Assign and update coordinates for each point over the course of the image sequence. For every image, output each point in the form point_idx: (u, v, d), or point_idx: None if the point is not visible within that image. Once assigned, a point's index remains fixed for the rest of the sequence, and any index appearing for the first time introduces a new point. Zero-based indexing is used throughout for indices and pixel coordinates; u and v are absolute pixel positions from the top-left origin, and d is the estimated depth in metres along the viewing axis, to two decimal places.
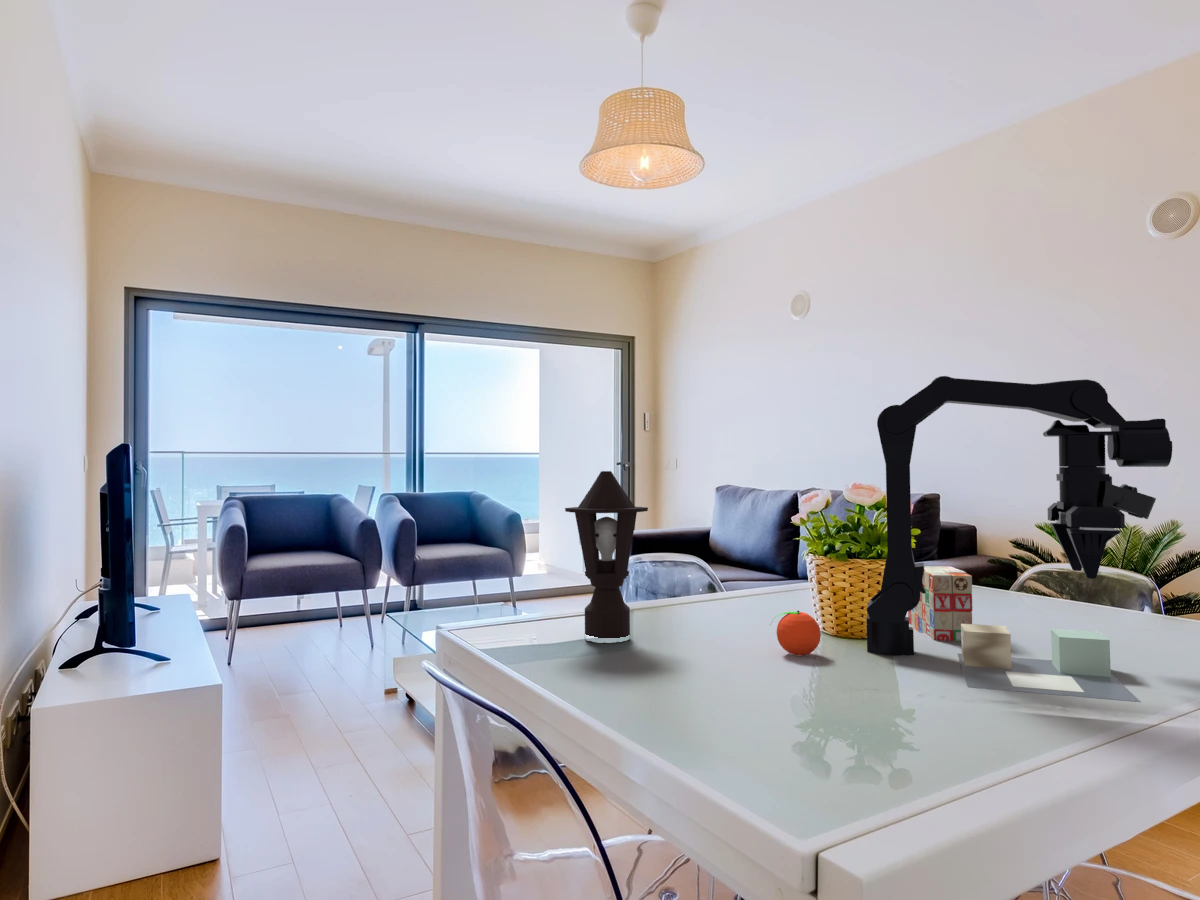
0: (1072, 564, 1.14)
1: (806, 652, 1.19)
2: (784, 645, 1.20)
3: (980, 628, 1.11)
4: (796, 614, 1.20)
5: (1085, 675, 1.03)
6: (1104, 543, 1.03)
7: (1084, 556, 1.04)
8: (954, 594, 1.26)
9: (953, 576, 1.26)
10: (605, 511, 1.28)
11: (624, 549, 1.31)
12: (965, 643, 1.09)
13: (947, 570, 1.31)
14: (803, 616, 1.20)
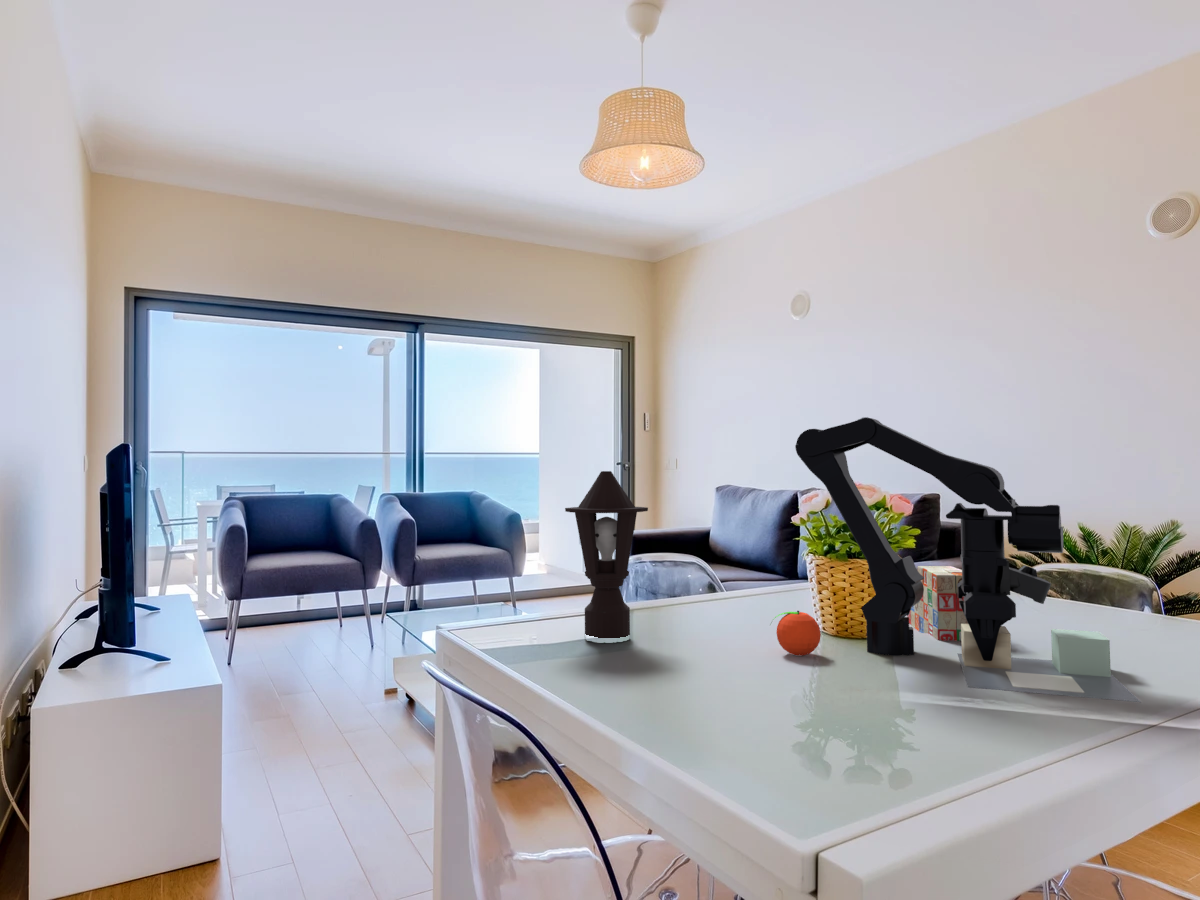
0: None
1: (806, 652, 1.19)
2: (784, 645, 1.20)
3: None
4: (796, 614, 1.20)
5: (1085, 675, 1.03)
6: (997, 628, 1.06)
7: (980, 640, 1.08)
8: None
9: (957, 576, 1.26)
10: (605, 511, 1.28)
11: (624, 549, 1.31)
12: (965, 643, 1.09)
13: (949, 570, 1.32)
14: (803, 616, 1.20)
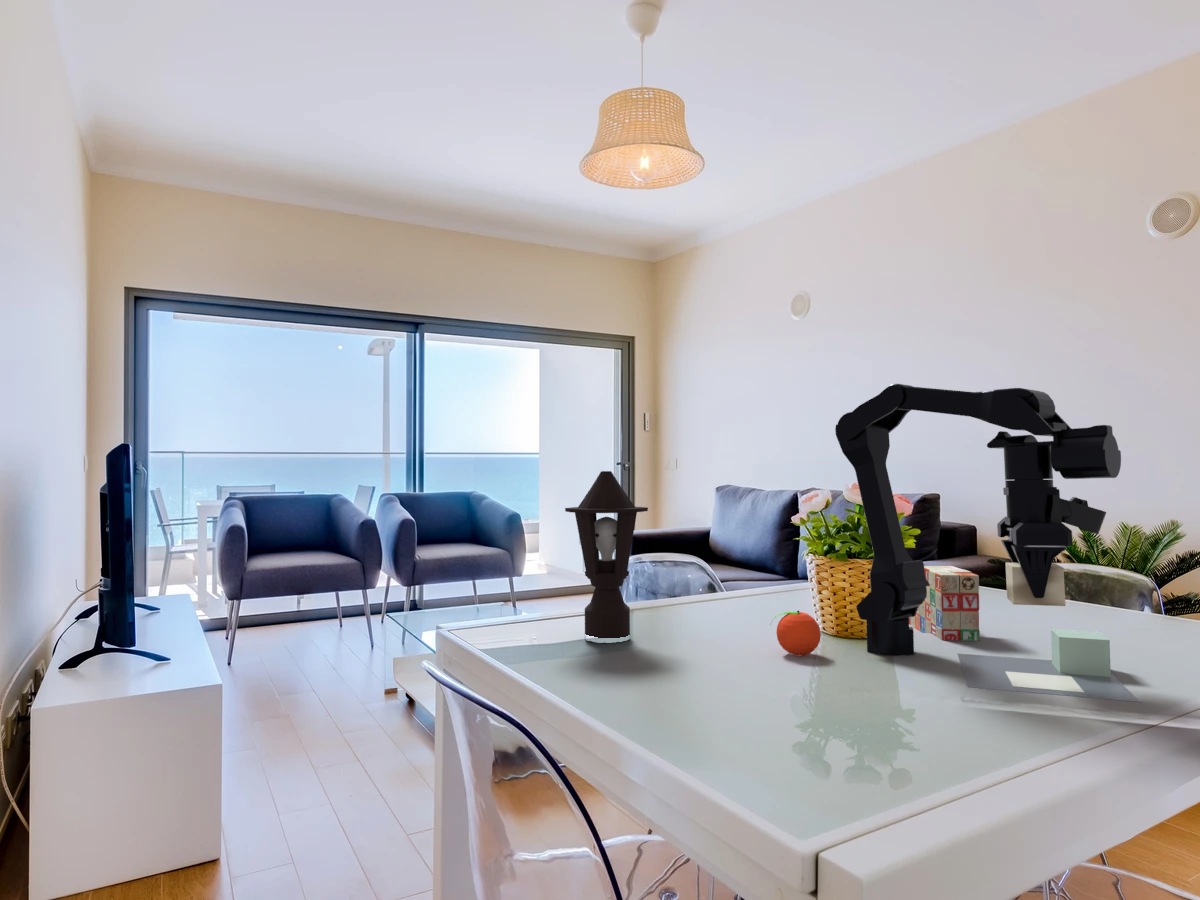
0: None
1: (806, 652, 1.19)
2: (784, 645, 1.20)
3: None
4: (796, 614, 1.20)
5: (1085, 675, 1.03)
6: (1050, 560, 0.97)
7: (1030, 575, 0.99)
8: (961, 593, 1.26)
9: (960, 576, 1.27)
10: (605, 511, 1.28)
11: (624, 549, 1.31)
12: (1013, 580, 1.01)
13: (952, 570, 1.32)
14: (803, 616, 1.20)
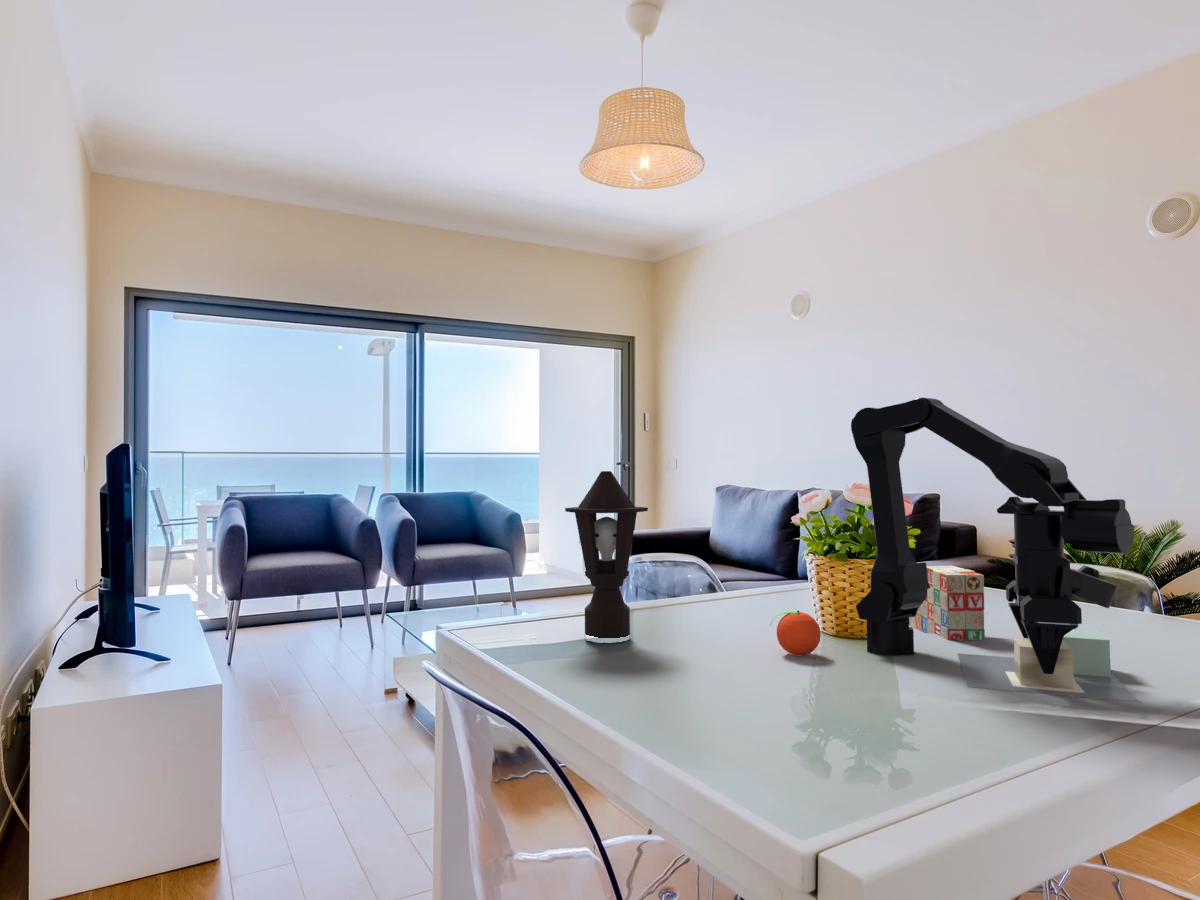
0: None
1: (806, 652, 1.19)
2: (784, 645, 1.20)
3: None
4: (796, 614, 1.20)
5: (1085, 675, 1.03)
6: (1061, 637, 0.94)
7: (1040, 650, 0.96)
8: (967, 593, 1.27)
9: (966, 575, 1.27)
10: (605, 511, 1.28)
11: (624, 549, 1.31)
12: (1021, 660, 0.99)
13: (955, 569, 1.32)
14: (803, 616, 1.20)
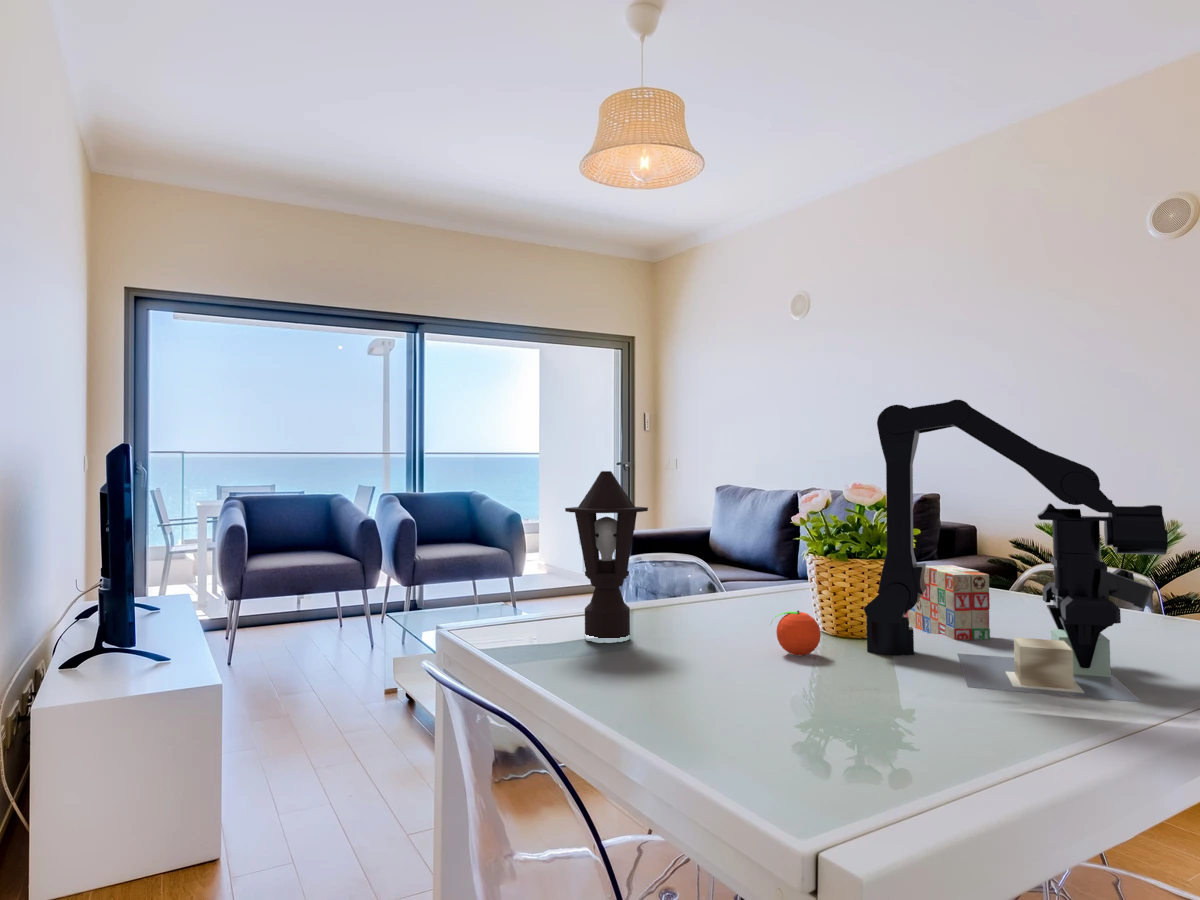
0: None
1: (806, 652, 1.19)
2: (784, 645, 1.20)
3: (1037, 643, 1.01)
4: (796, 614, 1.20)
5: (1085, 675, 1.03)
6: (1097, 634, 1.02)
7: (1077, 646, 1.03)
8: (973, 592, 1.27)
9: (972, 575, 1.27)
10: (605, 511, 1.28)
11: (624, 549, 1.31)
12: (1021, 660, 0.99)
13: (958, 569, 1.32)
14: (803, 616, 1.20)
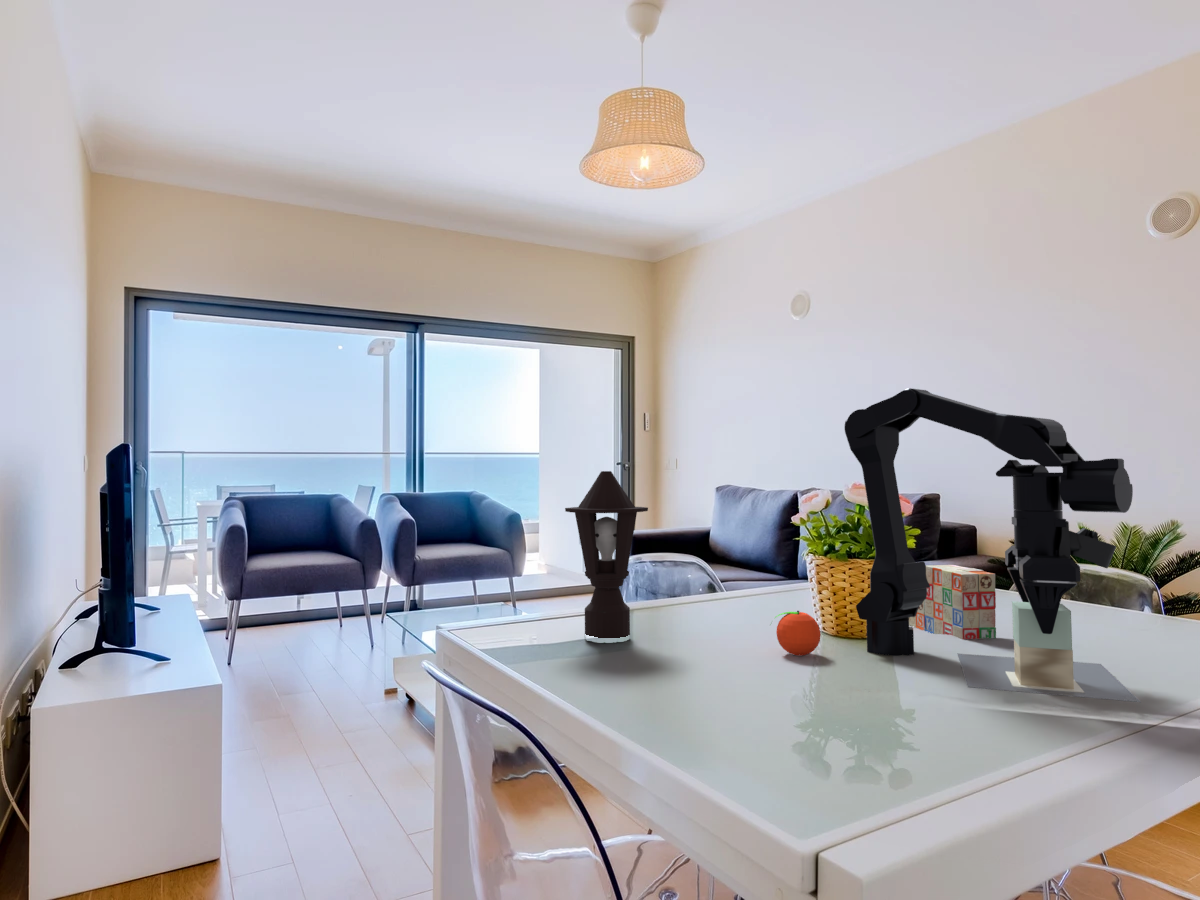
0: None
1: (806, 652, 1.19)
2: (784, 645, 1.20)
3: None
4: (796, 614, 1.20)
5: (1085, 675, 1.03)
6: (1059, 596, 0.94)
7: (1039, 610, 0.96)
8: (980, 592, 1.28)
9: (979, 574, 1.28)
10: (605, 511, 1.28)
11: (624, 549, 1.31)
12: (1021, 660, 0.99)
13: (963, 569, 1.33)
14: (803, 616, 1.20)
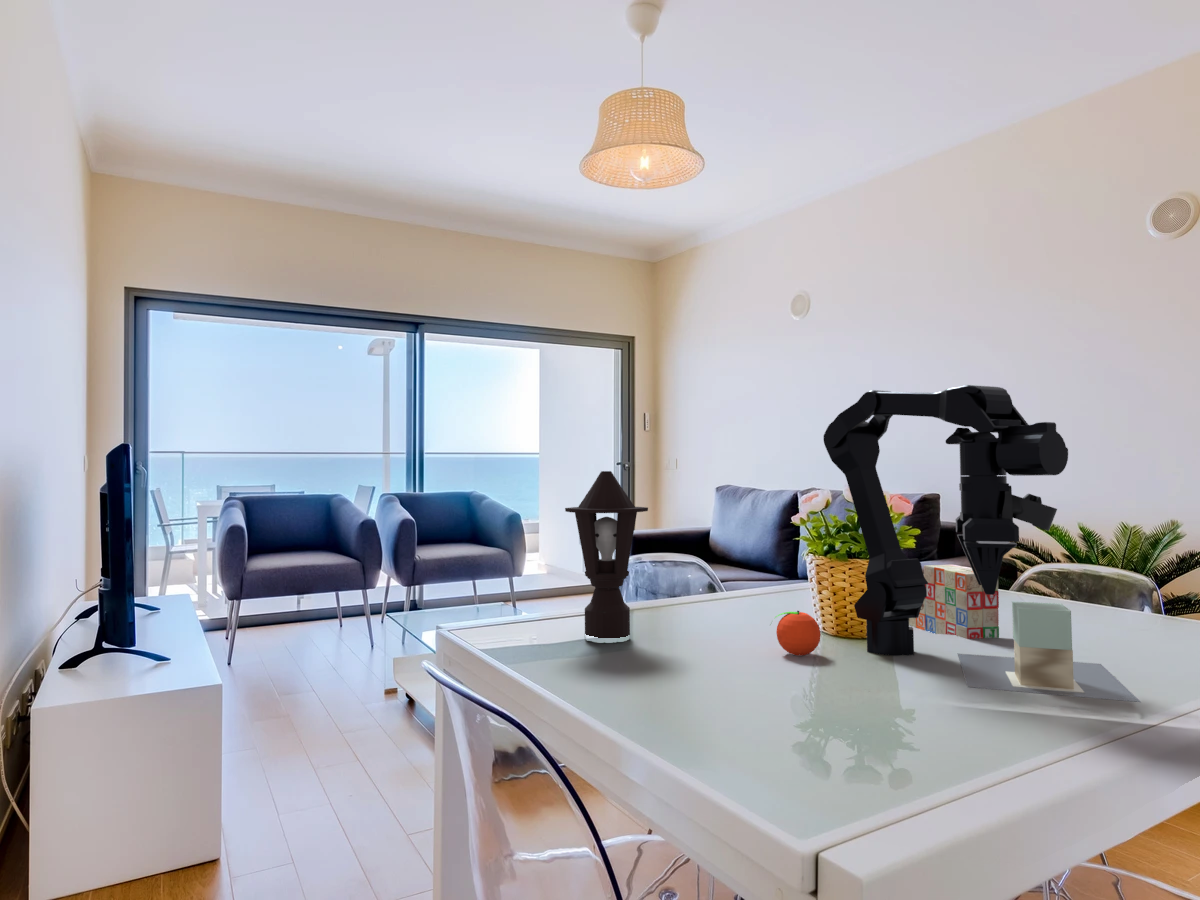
0: (978, 578, 1.08)
1: (806, 652, 1.19)
2: (784, 645, 1.20)
3: None
4: (796, 614, 1.20)
5: (1085, 675, 1.03)
6: (1001, 557, 0.97)
7: (981, 571, 0.98)
8: None
9: None
10: (605, 511, 1.28)
11: (624, 549, 1.31)
12: (1021, 660, 0.99)
13: (965, 568, 1.34)
14: (803, 616, 1.20)
